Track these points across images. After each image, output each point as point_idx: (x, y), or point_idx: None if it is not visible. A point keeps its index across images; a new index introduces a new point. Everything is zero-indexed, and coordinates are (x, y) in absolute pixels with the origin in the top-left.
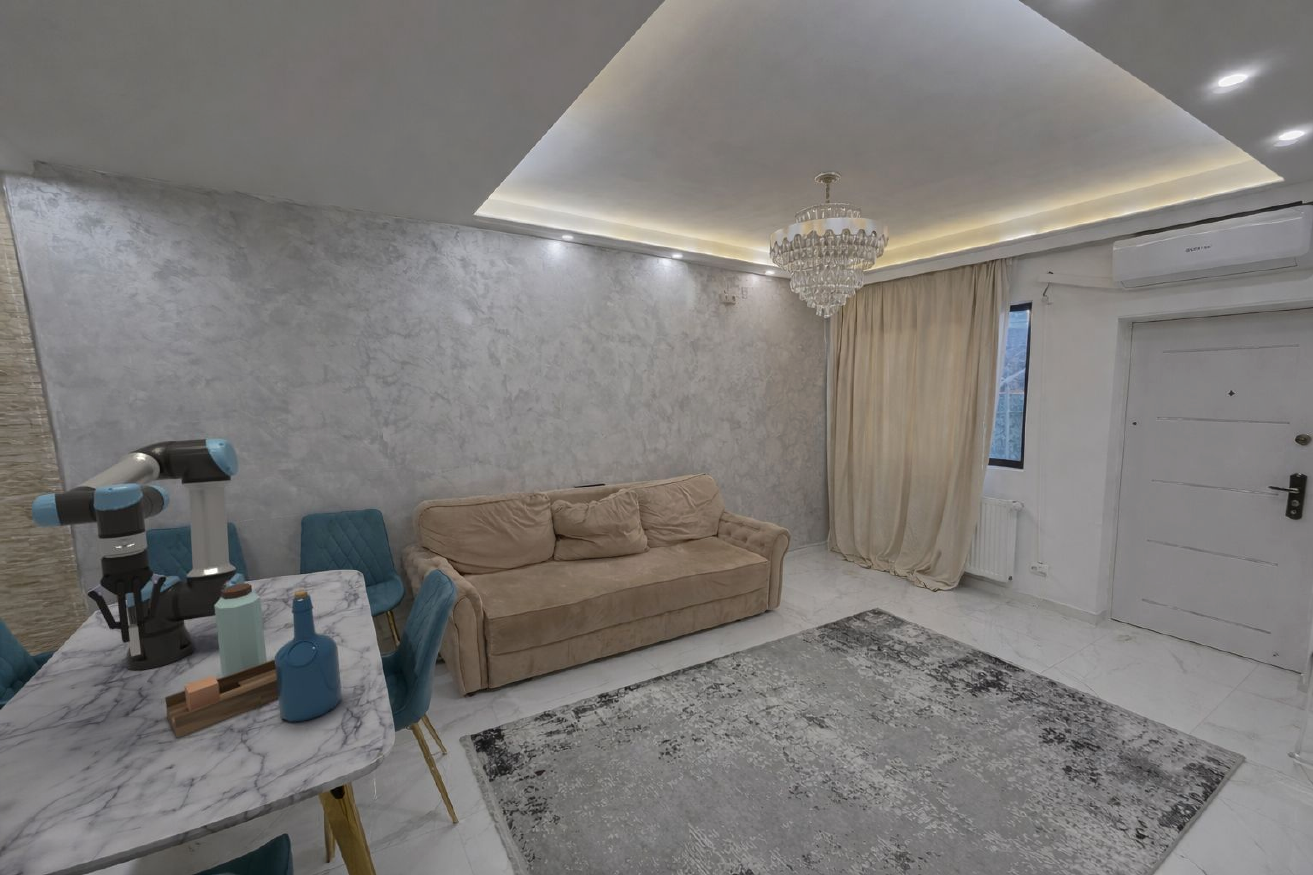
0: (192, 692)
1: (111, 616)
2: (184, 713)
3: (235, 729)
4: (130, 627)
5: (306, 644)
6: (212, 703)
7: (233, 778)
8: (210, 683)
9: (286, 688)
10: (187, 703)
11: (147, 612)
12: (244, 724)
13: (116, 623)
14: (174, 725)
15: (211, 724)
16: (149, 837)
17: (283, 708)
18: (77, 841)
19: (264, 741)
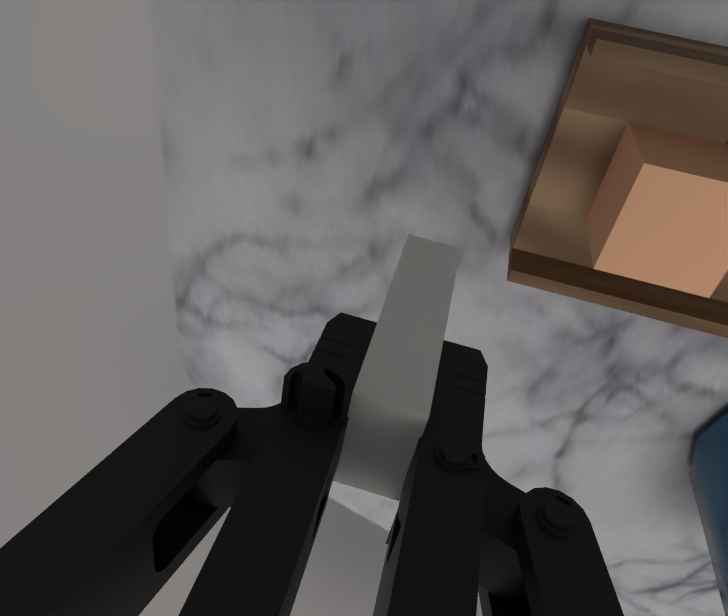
0: (606, 269)
1: (134, 610)
2: (540, 280)
3: (614, 352)
4: (353, 462)
5: None
6: (628, 306)
7: None
8: (694, 269)
9: (714, 567)
10: (617, 161)
11: (520, 571)
12: (644, 353)
13: (222, 504)
14: (520, 225)
15: None
16: (332, 489)
17: (699, 481)
18: (257, 405)
19: (598, 458)
